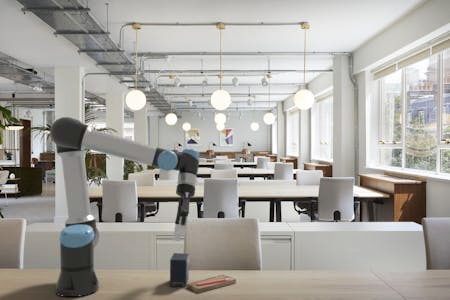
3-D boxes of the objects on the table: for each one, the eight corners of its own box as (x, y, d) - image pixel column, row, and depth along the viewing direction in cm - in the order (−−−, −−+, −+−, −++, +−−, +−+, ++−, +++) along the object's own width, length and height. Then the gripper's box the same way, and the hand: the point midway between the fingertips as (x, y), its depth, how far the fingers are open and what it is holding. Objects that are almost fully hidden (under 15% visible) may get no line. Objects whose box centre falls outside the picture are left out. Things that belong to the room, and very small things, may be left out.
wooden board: (186, 287, 166) (186, 283, 166) (222, 278, 177) (222, 274, 177) (198, 292, 160) (198, 288, 160) (236, 282, 171) (236, 278, 171)
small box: (186, 287, 166) (186, 259, 166) (169, 287, 166) (169, 259, 166) (189, 278, 177) (189, 252, 177) (173, 278, 177) (173, 252, 177)
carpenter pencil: (198, 286, 162) (198, 284, 162) (196, 285, 163) (196, 283, 163) (229, 280, 169) (229, 278, 169) (228, 279, 170) (228, 277, 170)
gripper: (201, 178, 169) (193, 232, 160) (190, 195, 191) (183, 244, 183) (181, 174, 167) (173, 229, 159) (173, 192, 190) (165, 241, 182)
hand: (178, 237), depth 171 cm, fingers open, 13 cm apart
